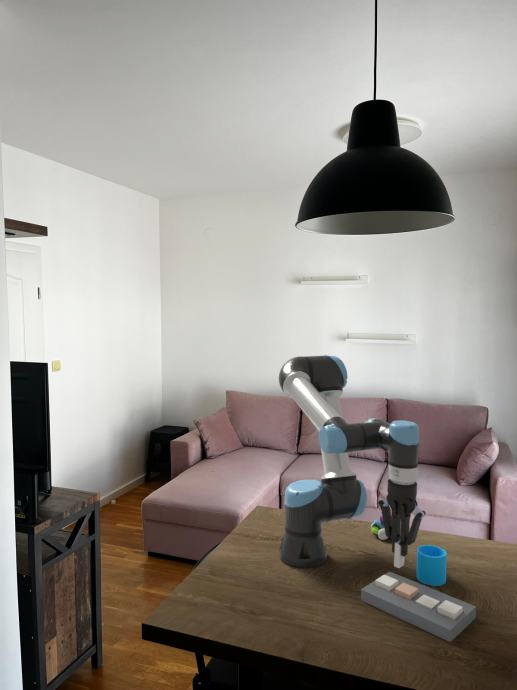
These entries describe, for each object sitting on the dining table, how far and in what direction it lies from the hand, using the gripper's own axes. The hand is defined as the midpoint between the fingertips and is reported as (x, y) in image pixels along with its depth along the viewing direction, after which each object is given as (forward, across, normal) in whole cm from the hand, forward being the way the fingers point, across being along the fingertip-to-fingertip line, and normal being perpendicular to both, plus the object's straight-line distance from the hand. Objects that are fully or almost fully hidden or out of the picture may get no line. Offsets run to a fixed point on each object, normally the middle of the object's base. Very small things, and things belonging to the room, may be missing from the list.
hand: (399, 565), depth 140 cm
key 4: (+8, +15, -1) cm, 17 cm away
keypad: (+9, +6, -1) cm, 11 cm away
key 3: (+9, +9, -1) cm, 13 cm away
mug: (+10, 0, +18) cm, 21 cm away
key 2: (+8, +3, -1) cm, 9 cm away
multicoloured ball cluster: (+11, -24, +33) cm, 42 cm away
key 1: (+8, -3, -1) cm, 9 cm away
